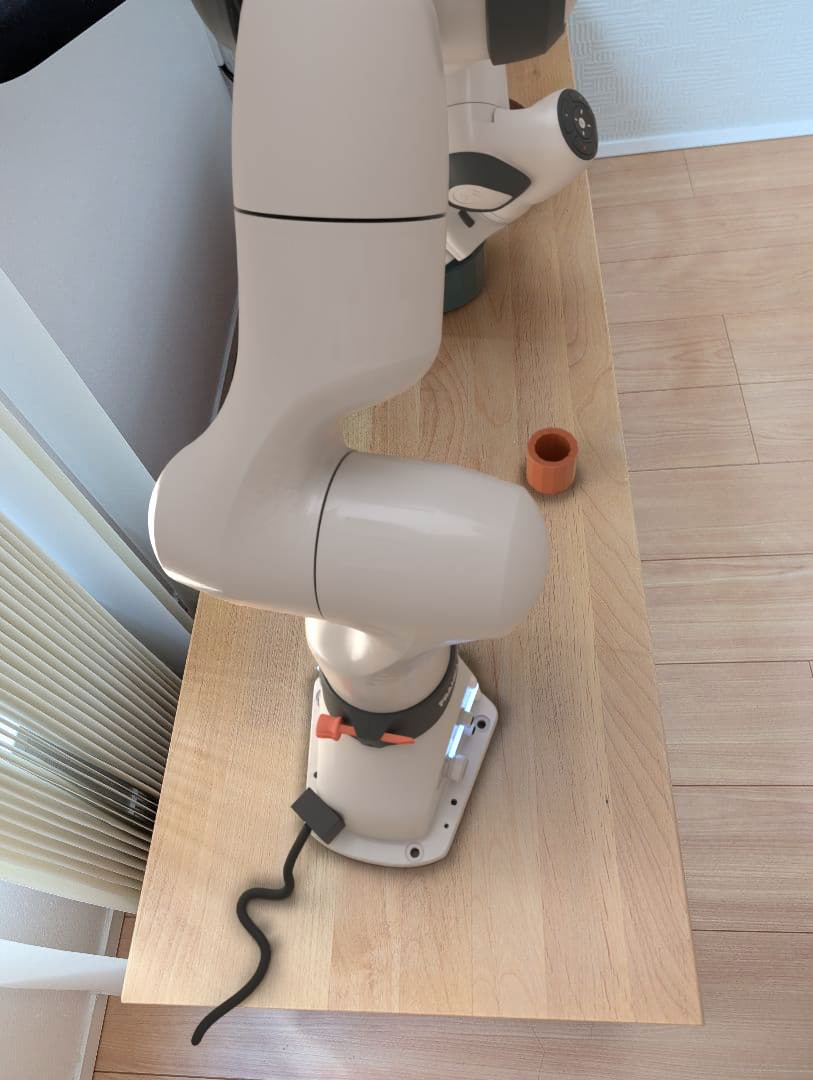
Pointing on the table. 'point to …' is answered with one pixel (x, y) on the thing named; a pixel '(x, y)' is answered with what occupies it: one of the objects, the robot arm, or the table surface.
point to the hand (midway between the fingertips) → (423, 237)
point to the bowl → (465, 278)
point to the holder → (551, 460)
